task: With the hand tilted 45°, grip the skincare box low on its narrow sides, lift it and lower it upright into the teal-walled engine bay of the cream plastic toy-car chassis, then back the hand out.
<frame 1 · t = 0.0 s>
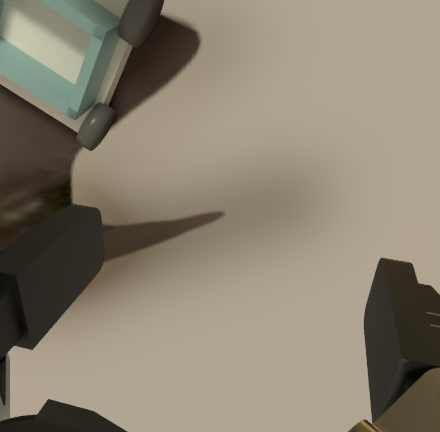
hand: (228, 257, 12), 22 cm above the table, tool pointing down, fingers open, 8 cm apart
toy car chassis: (63, 26, 33), on the table
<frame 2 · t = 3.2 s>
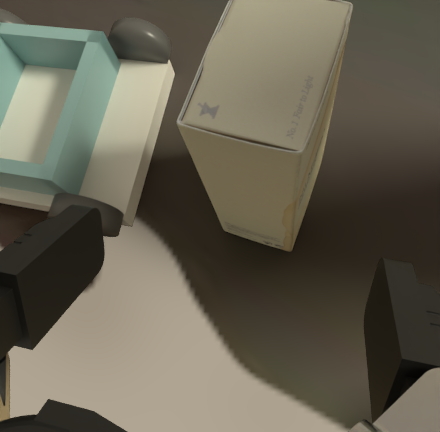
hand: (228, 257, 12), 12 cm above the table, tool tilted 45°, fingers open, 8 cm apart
skincare box: (271, 195, 25), on the table
toy car chassis: (57, 132, 28), on the table
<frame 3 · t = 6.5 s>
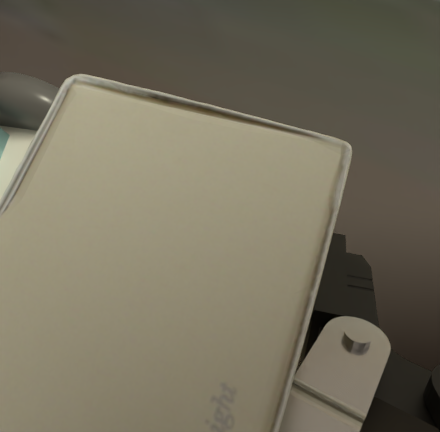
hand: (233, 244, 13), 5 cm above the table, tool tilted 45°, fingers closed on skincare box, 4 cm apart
skincare box: (228, 343, 16), on the table, touching gripper
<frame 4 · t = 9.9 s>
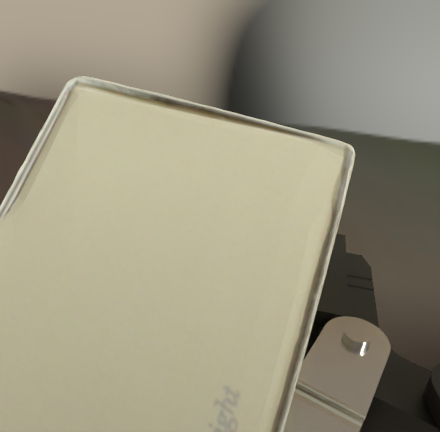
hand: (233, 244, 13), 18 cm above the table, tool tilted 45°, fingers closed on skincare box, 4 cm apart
skincare box: (228, 344, 16), point 13 cm above the table, touching gripper
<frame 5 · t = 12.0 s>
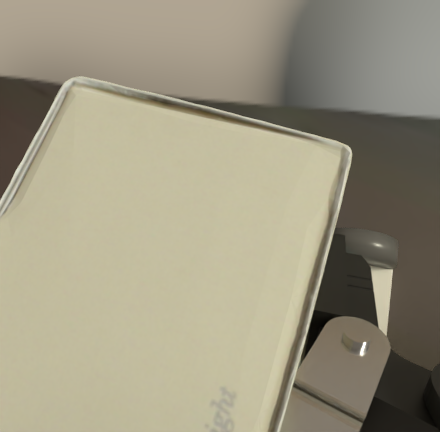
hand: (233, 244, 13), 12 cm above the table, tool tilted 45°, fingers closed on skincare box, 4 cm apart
skincare box: (227, 345, 16), point 8 cm above the table, touching gripper
toy car chassis: (247, 341, 24), on the table
when the fingers open (7 cm above the table, at t = 13.6 s): skincare box stays where it is, resting on toy car chassis.
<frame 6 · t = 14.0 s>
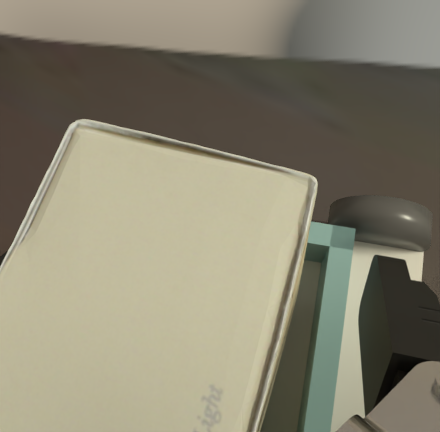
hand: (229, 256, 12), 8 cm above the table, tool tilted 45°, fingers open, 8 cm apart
skincare box: (226, 347, 17), point 1 cm above the table, touching toy car chassis
toy car chassis: (236, 344, 18), on the table
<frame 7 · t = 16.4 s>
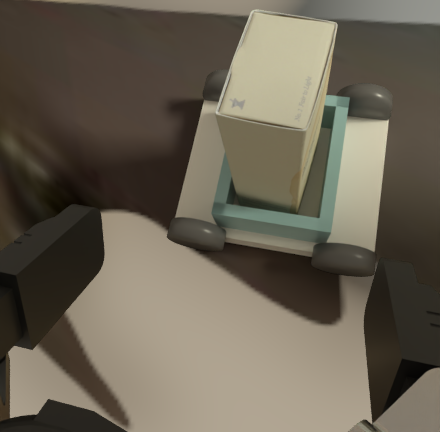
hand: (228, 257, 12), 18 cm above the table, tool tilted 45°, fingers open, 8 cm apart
skincare box: (277, 175, 31), point 1 cm above the table, touching toy car chassis
toy car chassis: (281, 180, 32), on the table
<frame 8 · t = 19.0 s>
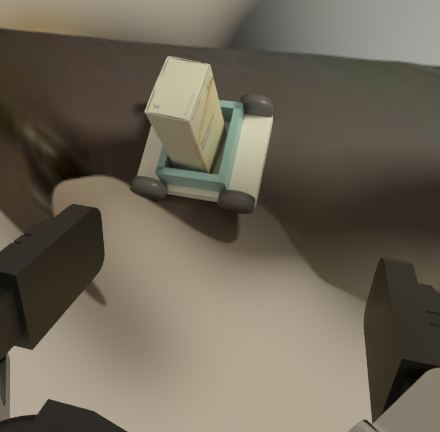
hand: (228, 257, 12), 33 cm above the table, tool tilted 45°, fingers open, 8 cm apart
skincare box: (201, 151, 48), point 1 cm above the table, touching toy car chassis
toy car chassis: (205, 155, 49), on the table
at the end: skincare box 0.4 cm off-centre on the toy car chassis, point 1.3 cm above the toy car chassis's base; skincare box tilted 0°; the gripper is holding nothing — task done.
